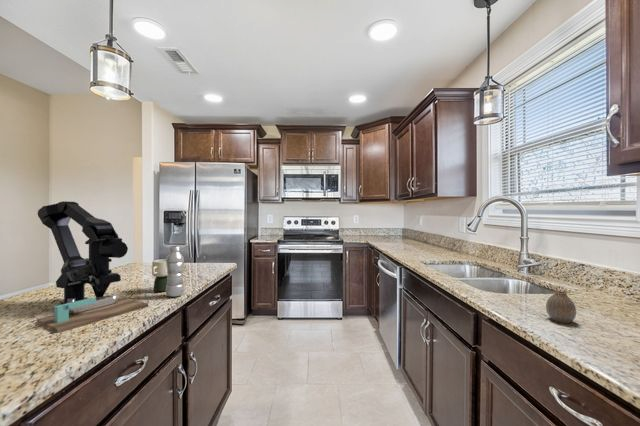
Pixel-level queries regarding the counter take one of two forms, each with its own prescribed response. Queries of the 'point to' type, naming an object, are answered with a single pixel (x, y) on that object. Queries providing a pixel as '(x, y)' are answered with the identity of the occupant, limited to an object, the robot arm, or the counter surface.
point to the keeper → (63, 310)
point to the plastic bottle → (174, 272)
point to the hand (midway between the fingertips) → (99, 299)
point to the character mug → (159, 274)
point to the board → (93, 315)
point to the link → (99, 302)
